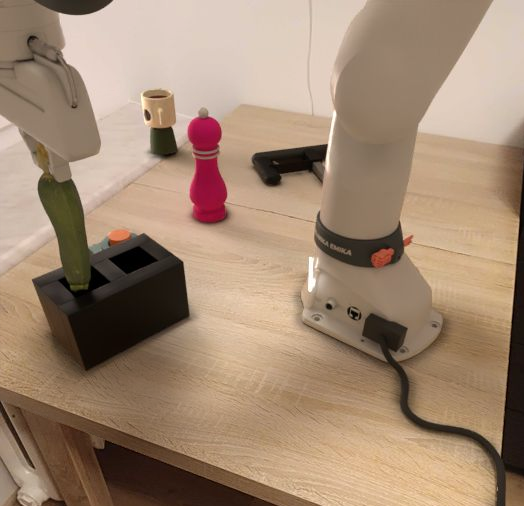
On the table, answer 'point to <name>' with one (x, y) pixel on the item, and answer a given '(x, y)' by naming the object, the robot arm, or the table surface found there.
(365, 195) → the robot arm
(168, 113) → the character mug
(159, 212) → the table surface
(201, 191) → the pepper mill
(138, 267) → the toaster
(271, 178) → the door handle
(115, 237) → the button
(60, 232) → the vegetable
